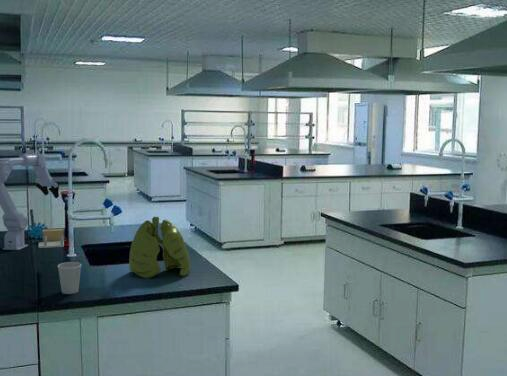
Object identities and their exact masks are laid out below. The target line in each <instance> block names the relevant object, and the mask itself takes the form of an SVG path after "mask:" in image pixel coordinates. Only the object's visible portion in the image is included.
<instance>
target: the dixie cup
mask: <svg viewBox="0 0 507 376" xmlns="http://www.w3.org/2000/svg"><path fill="white" fill-rule="evenodd" d="M57 268H58V269H57V270H58V276H59V282H60V288H61V293H62V294H63V295H65V294H66V295H73V294H76V293H79V288H80V287H79V286H80V280H81V279H80V278H81V270H82V263H81V262H78V261H77V262H76V261H68V262H67V261H66V262H62V263H59V264H58V265H57Z"/></svg>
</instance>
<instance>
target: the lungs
mask: <svg viewBox="0 0 507 376" xmlns="http://www.w3.org/2000/svg"><path fill="white" fill-rule="evenodd" d="M159 222H160V217H159V216H153V217H152V218H151V221H150V220H148V219H147V220H145V221H143V223H142V224H141V225H140V226H139V227H138V229H137V230H136V233H135V235H134V237H133V240H132V242H131V246H130V250H129V259H128V261H129V262H128V264H129V266H128V267H129V269H128V270H129V271H130V273H131V272H132V273H134V274H136V275H138V276H139V277H141V278H144V279H147V278H153V277H154V276H156V275H157V274H159V272H160V270H161V266H160V264H159V261H158V260H157V258H158V255H159V253H160V251H161V250H160V249H161V248H160V245H161V246H162V257H163V263H164V264H163V265H164V270H169V268H171V269H175V268H174V267H177V268H180V270H179V275H180V276H181V277H186V276H187V275H188V274H189V272H190V270H191V259H190V254H189V250H188V248H187V247H188V246H187V244H186V243H185V241H184V237H183V235H182V234H181V232H180V231H179V230H178V229H179V228H177V226H175V225H174V224H173V222H170V221H169V220H168V219H163V220H162V221H161V224H160V228H159ZM159 229H160V234H161V238H160V235H159ZM185 275H186V276H185Z"/></svg>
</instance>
